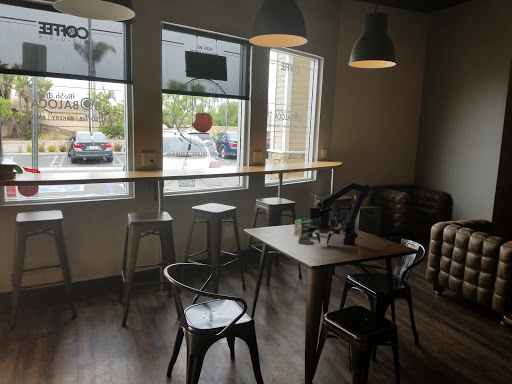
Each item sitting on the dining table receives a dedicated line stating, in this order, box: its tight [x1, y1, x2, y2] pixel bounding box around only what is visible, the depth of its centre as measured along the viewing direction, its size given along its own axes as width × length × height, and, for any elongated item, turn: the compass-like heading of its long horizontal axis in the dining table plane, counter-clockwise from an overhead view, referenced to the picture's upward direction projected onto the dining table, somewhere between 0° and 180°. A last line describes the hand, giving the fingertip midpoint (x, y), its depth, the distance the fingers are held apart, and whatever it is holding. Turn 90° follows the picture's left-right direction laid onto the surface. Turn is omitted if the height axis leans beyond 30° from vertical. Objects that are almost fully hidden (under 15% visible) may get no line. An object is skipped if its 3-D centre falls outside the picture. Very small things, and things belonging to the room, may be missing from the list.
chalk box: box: [294, 215, 314, 238], centre depth 256 cm, size 9×9×15 cm
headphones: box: [310, 204, 340, 229], centre depth 282 cm, size 20×7×18 cm, turn 101°
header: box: [297, 237, 312, 246], centre depth 240 cm, size 7×9×2 cm
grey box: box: [319, 234, 328, 248], centre depth 234 cm, size 4×5×6 cm
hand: (323, 244), depth 235 cm, fingers closed on grey box, 4 cm apart
